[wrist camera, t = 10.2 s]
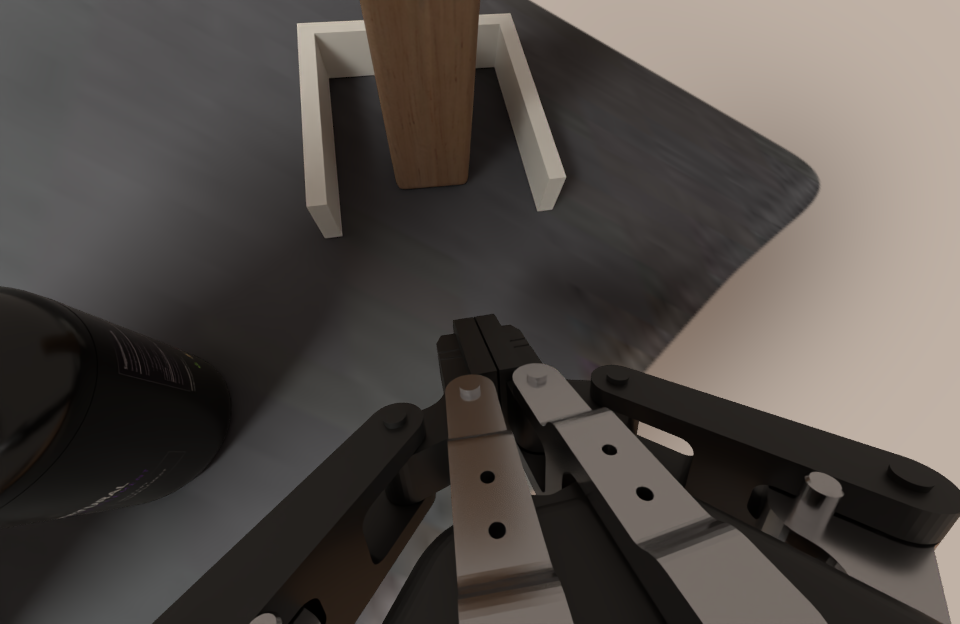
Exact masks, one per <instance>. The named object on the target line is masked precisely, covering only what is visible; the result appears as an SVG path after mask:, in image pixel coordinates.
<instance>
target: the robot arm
mask: <svg viewBox="0 0 960 624" xmlns="http://www.w3.org/2000/svg"><path fill="white" fill-rule="evenodd" d="M453 330H454V334H449V335H442V336H440V338H439V340H438V342H437V344H436V345H437V352H438V359H439V367H440V374H441V381H442V386H443V391H444V395H443V396H442V398H441V399H440V400H439V401H438V402H437V403H435V404H434V405H432V406H430V407H428V408H426V409H424V410H422V411H421V409H420V408H419V407H417V406H416V405H413V404H410V403H395V404H391V405H388V406H385V407H383V408H381V409H380V410H378V411H377V412H376V413H375V414H373V415H372V416H371V417H370V418H369V419H368V420H367V421H366V422H365V423H364V424H363V425H362V426H361V427H360V428H359V429H358V430H356V431H355V432H354V433H353V434H352V435H351V436H350V437H349V438H348V439H347V440H346V441H345V442H344V443H343V444H342V445H341V446H340V447H338V448H337V449H336V450H335V451H334V452H333V453H332V454H331V455H330V456H329V457H328V458H327V459H326V460H325V461H324V462H323V463H322V464H321V465H319V466H318V467H317V468H316V469H315V470H314V471H313V472H312V473H311V474H310V475H309V476H308V477H307V478H306V479H305V480H304V481H303V482H301V483H300V484H299V485H298V486H297V487H296V488H295V489H294V490H293V491H292V492H291V493H290V494H289V495H288V496H287V497H286V498H285V499H283V500H282V501H281V502H280V503H279V504H278V505H277V506H276V507H275V508H274V509H273V510H272V511H271V512H270V513H269V514H268V515H267V516H266V517H264V518H263V519H262V520H261V521H260V522H259V523H258V524H257V525H256V526H255V527H254V528H253V529H252V530H251V531H250V532H249V533H248V534H246V535H245V536H244V537H243V538H242V539H241V540H240V541H239V542H238V543H237V544H236V545H235V546H234V547H233V548H232V549H231V550H230V551H228V552H227V553H226V554H225V555H224V556H223V557H222V558H221V559H220V560H219V561H218V562H217V563H216V564H215V565H214V566H213V567H212V568H211V569H209V570H208V571H207V572H206V573H205V574H204V575H203V576H202V577H201V578H200V579H199V580H198V581H197V582H196V583H195V584H194V585H193V586H191V587H190V588H189V589H188V590H187V591H186V592H185V593H184V594H183V595H182V596H181V597H180V598H179V599H178V600H177V601H176V602H175V603H173V604H172V605H171V606H170V607H169V608H168V609H167V610H166V611H165V612H164V613H163V614H162V615H161V616H160V617H159V618H158V619H157V620H155V621H154V622H153V623H152V624H355V622H356V621H357V619H358V618H359V616H360V615H361V613H362V611H363V610H364V608H365V607H366V605H367V604H368V602H369V601H370V599H371V598H372V596H373V595H374V593H375V592H376V590H377V589H378V587H379V585H380V584H381V582H382V581H383V579H384V578H385V576H386V575H387V573H388V572H389V570H390V569H391V567H392V566H393V564H394V563H395V561H396V560H397V558H398V556H399V555H400V553H401V552H402V550H403V549H404V547H405V546H406V544H407V543H408V541H409V540H410V538H411V537H412V535H413V534H414V532H415V531H416V529H417V527H418V526H419V524H420V523H421V521H422V520H423V518H424V517H425V515H426V514H427V512H428V511H429V509H430V508H431V506H432V504H433V503H434V500H435V497H436V492H438V491H440V490H442V489H443V488H445V487H447V486H449V485H451V498H452V512H453V525H452V526H451V527H449V528H448V529H447V530H445V531H444V532H443V533H442V534H440V535H439V536H438V537H437V538H436V539H435V540H434V541H433V542H432V543H431V544H430V545H429V546H428V548H427V549H426V550H425V551H424V553H423V554H422V555H421V557H420V558H419V560H418V561H417V563H416V565H415V566H414V568H413V570H412V571H411V573H410V575H409V577H408V579H407V580H406V582H405V584H404V586H403V587H402V589H401V591H400V593H399V595H398V596H397V598H396V600H395V602H394V603H393V605H392V607H391V609H390V611H389V612H388V614H387V616H386V618H385V619H384V621H383V623H382V624H951V621H950V616H949V612H948V608H947V603H946V599H945V595H944V591H943V586H942V582H941V578H940V573H939V569H938V565H937V560H936V556H935V552H934V550H935V549H936V547H937V546H938V545H939V543H940V542H941V540H942V539H943V538H944V537H945V535H946V534H947V533H948V531H949V530H950V529H951V527H952V526H953V525H954V523H955V522H956V521H957V519H958V518H959V517H960V490H959V489H958V488H957V487H956V486H955V485H954V484H953V483H952V482H951V481H949V480H948V479H947V478H945V477H944V476H943V475H941V474H940V473H938V472H936V471H935V470H933V469H931V468H929V467H927V466H925V465H923V464H921V463H919V462H917V461H914V460H912V459H909V458H906V457H903V456H900V455H897V454H894V453H891V452H888V451H885V450H881V449H879V448H875V447H872V446H869V445H866V444H863V443H860V442H856V441H854V440H851V439H847V438H844V437H841V436H838V435H835V434H832V433H829V432H826V431H822V430H819V429H816V428H813V427H810V426H807V425H804V424H801V423H797V422H795V421H792V420H788V419H785V418H782V417H779V416H776V415H773V414H770V413H766V412H763V411H760V410H757V409H754V408H751V407H748V406H745V405H742V404H739V403H736V402H732V401H729V400H726V399H723V398H719V397H717V396H714V395H711V394H708V393H704V392H701V391H698V390H695V389H692V388H689V387H686V386H683V385H679V384H676V383H673V382H670V381H667V380H664V379H661V378H658V377H655V376H652V375H649V374H645V373H642V372H639V371H636V370H633V369H630V368H627V367H623V366H618V365H606V366H601V367H599V368H597V369H595V370H594V371H593V372H592V375H591V381H586V380H568V379H565V378H564V377H563V376H562V375H561V374H560V372H559V371H558V370H557V369H555V368H553V367H551V366H549V365H546V364H542V362H541V361H540V359H539V358H538V356H537V355H536V353H535V352H534V350H533V349H532V347H531V346H529V343H528V341H527V340H526V339H525V337H524V335H523V334H522V332H521V331H520V330H519V329H517V328H515V327H513V326H512V325H505V326H501V325H500V323H499V321H498V320H497V318H496V316H495V315H494V314H490V315H484V316H477V317H474V318H473V317H471V318H465V319H458V320H453ZM639 421H640V422H642V423H645V424H648V425H650V426H652V427H655V428H657V429H660V430H662V431H665V432H667V433H670V434H672V435H675V436H677V437H680V438H682V439H684V440H685V441H687V442H688V443H689V444H690V446H691V447H692V449H693V452H694V455H693V456H687V455H684V454H681V453H679V452H677V451H674V450H672V449H669V448H667V447H665V446H662V445H660V444H658V443H655V442H653V441H650V440H648V439H646V438H643V437H641V436H639V435H637V430H638V423H639ZM512 432H513V433H512ZM513 435H514V436H513ZM514 438H515V439H514ZM523 469H524V470H523ZM524 471H525V473H526V475H527V477H528V479H529V481H530V483H531V485H532V487H533V489H534V491H535V493H536V495H531V493H530V490H529V487H528V483H527V480H526V476H525V473H524Z"/></svg>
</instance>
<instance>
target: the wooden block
mask: <svg viewBox="0 0 960 624" xmlns="http://www.w3.org/2000/svg"><path fill="white" fill-rule="evenodd" d="M360 4H361V9H362V14H363V19H364V24H365V29H366V34H367V39H368V44H369V49H370V54H371V59H372V64H373V69H374V74H375V79H376V84H377V89H378V94H379V99H380V104H381V109H382V114H383V119H384V124H385V129H386V134H387V139H388V144H389V149H390V154H391V159H392V164H393V169H394V174H395V179H396V183H397V185H398V187H399V188H400V189H415V188H427V187H438V186H450V185H462V184H464V183H466V182H467V179H468V171H469V157H470V143H471V129H472V114H473V99H474V84H475V69H476V53H477V38H478V23H479V9H480V0H360Z"/></svg>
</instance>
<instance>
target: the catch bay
mask: <svg viewBox="0 0 960 624" xmlns="http://www.w3.org/2000/svg"><path fill="white" fill-rule="evenodd" d="M297 34H298V53H299V73H300V92H301V112H302V131H303V151H304V170H305V190H306V207H307V209H308V210H309V212H310V214H311V216H312V217H313V219H314V221H315V222H316V224H317V226H318V227H319V229H320V231H321V232H322V234H323V236H324V238H332V237H340V236H343V235H342V223H341V212H340V200H339V189H338V178H337V166H336V155H335V143H334V132H333V120H332V109H331V98H330V86H329V78H339V77H354V76H369V75H375V74H374V69H373V64H372V59H371V54H370V49H369V44H368V39H367V34H366V29H365V24H364V20H359V21H338V22H317V23H297ZM487 67H494V68H495V71H496V74H497V78H498V81H499V84H500V88H501V91H502V94H503V98H504V101H505V105H506V108H507V111H508V115H509V118H510V121H511V125H512V128H513V131H514V135H515V138H516V141H517V145H518V148H519V151H520V155H521V158H522V162H523V165H524V168H525V172H526V175H527V178H528V182H529V185H530V188H531V192H532V195H533V198H534V202H535V205H536V209H537V212H538V211H546V210H552V209H553V207H554V205H555V202H556V200H557V198H558V195H559V193H560V191H561V188H562V186H563V184H564V181H565V179H566V175H565V172H564V169H563V166H562V163H561V160H560V157H559V154H558V151H557V148H556V146H555V143H554V140H553V137H552V134H551V131H550V128H549V125H548V122H547V119H546V116H545V113H544V110H543V107H542V105H541V102H540V99H539V96H538V93H537V90H536V87H535V84H534V81H533V78H532V75H531V72H530V69H529V66H528V64H527V61H526V58H525V55H524V52H523V49H522V46H521V43H520V40H519V37H518V34H517V31H516V28H515V25H514V23H513V20H512V17H511V14H510V13H508V14H487V15H479V23H478V38H477V53H476V68H487Z"/></svg>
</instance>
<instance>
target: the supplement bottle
mask: <svg viewBox="0 0 960 624" xmlns="http://www.w3.org/2000/svg"><path fill="white" fill-rule="evenodd" d="M230 417H231V399H230V394H229V391H228V388H227V385H226V383H225V381H224V380H223V378H222V376H221V375H220V374H219V373H218V371H217V370H216V369H215V368H214V367H213V366H211V365H210V364H209V363H207V362H206V361H204V360H202V359H200V358H199V357H196V356H194V355H192V354H189V353H187V352H185V351H182V350H180V349H177V348H175V347H172V346H170V345H167V344H164V343H162V342H159V341H157V340H154V339H152V338H149V337H147V336H144V335H142V334H139V333H136V332H134V331H131V330H129V329H126V328H124V327H121V326H119V325H116V324H113V323H111V322H108V321H106V320H103V319H101V318H98V317H96V316H93V315H90V314H88V313H85V312H83V311H80V310H78V309H75V308H73V307H70V306H67V305H65V304H62V303H60V302H57V301H55V300H52V299H49V298H46V297H43V296H40V295H37V294H34V293H31V292H27V291H24V290H20V289H15V288H9V287H1V286H0V529H3V528H9V527H14V526H20V525H26V524H32V523H38V522H43V521H49V520H55V519H61V518H67V517H72V516H78V515H84V514H90V513H96V512H101V511H107V510H113V509H119V508H124V507H129V506H134V505H139V504H143V503H147V502H150V501H154V500H157V499H160V498H162V497H164V496H167V495H169V494H171V493H173V492H175V491H176V490H178V489H180V488H181V487H183V486H184V485H186V484H187V483H189V482H190V481H191V480H192V479H194V478H195V477H196V476H197V475H198V474H199V473H200V472H201V471H202V470H203V469H204V468H205V467H206V466H207V465H208V464H209V463H210V461H211V460H212V459H213V458H214V456H215V455H216V453H217V452H218V450H219V448H220V446H221V445H222V443H223V441H224V438H225V436H226V433H227V430H228V427H229V423H230Z"/></svg>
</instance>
